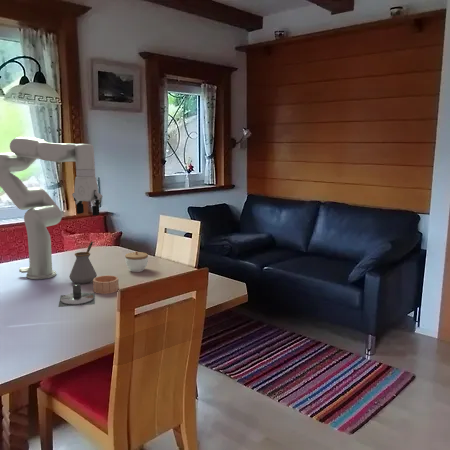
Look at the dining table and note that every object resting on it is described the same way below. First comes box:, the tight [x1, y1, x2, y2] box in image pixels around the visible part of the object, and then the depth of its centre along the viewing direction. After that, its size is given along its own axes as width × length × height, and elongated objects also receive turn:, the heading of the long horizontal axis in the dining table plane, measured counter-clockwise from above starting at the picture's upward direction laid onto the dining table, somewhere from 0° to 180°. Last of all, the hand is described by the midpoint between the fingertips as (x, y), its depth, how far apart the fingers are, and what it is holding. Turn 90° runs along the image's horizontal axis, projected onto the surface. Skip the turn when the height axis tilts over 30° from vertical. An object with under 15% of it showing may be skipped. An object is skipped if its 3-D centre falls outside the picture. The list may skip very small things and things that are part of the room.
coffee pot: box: [69, 241, 98, 285], centre depth 202 cm, size 21×12×15 cm, turn 0°
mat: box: [58, 292, 96, 308], centre depth 175 cm, size 13×13×1 cm
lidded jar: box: [124, 250, 149, 273], centre depth 218 cm, size 11×11×9 cm
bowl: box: [92, 274, 120, 295], centre depth 187 cm, size 10×10×5 cm
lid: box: [61, 283, 94, 306], centre depth 175 cm, size 12×12×6 cm
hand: (88, 214), depth 193 cm, fingers open, 9 cm apart
